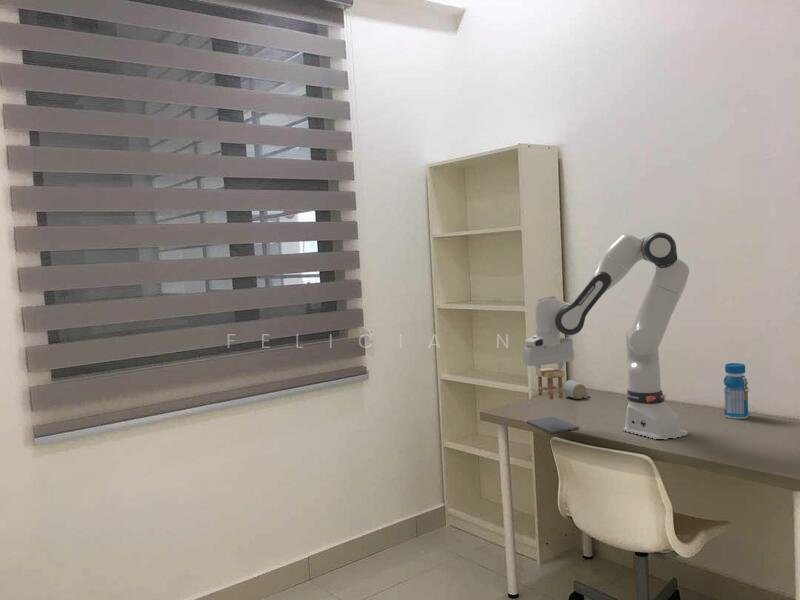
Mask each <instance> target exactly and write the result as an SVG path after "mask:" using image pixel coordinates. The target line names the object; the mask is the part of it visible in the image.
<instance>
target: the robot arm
mask: <svg viewBox="0 0 800 600" xmlns="http://www.w3.org/2000/svg"><path fill="white" fill-rule="evenodd" d="M677 251H678V250H677V244H676V241H675V239H674V238H673V237H672V235H670V234H669V233H665V232H661V231H659V232H653V233H651V234H649V235H648V236H645V237H644V238H643V237H642V238H638V237H637V236H635V235H633V234H629V233H628V234H626V233H624V234H622V235H621V236H619V237H618V238H617V239H616V240H614V242H612V243H611V245H609V247H607V248H606V250H605V251H604V252H603V254H602V255H601V256H600V258H599V259H598V261H597V262H596V265H595V266H594V268H593V270H592V272H591V273H592V274H591V276H590V277H589V281H588V283H587V284H586V286H585V287H584V289H583V290H582V291H581V292H580V294H579V295H577V297H576V298H575V300H574V301H572V303H569V302H565V301H563V300H561V299H559V298H558V297H557V296H548V297H543V298H541V299H539V300H537V302H536V304H535V323H536V330H535V331H536V332H535V334H534V335H533V336H529V338H526V339H525V340H524V345H525V347H524V349H523V364H524V365H525V366H527V367H535V370H536V369H537V371H538V375H537V377H538V376H539V377H542V378H543V376H544V372H542V371H541V369H542V366H544V365H545V366H546V365H553V364H557V365H558V366H557V368H555V369H556V370H560V371H562V369H563V367H564V363H569V362H573V361H574V360H575V352H574V347H573V346H574V345H573V340H572V338H570V337H561V334H563V335H567V336H574V335H576V334H578V333H580V332H581V331H582V329H583V328H584V324H585V322H586V316H588V314H589V312H590V311H591V309H592V308H593V307H594V306H595V304H597V302H598V301H599V300H600V299H601V297H602V296H603V295H605V294H606V292H607V291H609V290H610V289H612V288H613V287H614V286H615V285H617V284H618V283H619V282H621V281H622V280H623V279H624V277H626V276H627V274H628V273H629V272H630V271H631V270H632V268H633V267H634V266H635V265H636V263H638V262H639V261H641V260H644V261H647V262H650V263H652V264H654V265H655V273H654V276H653V277H652V280H651V282H650V284H649V286H648V288H647V290H646V292H645V294H644V296H643V298H642V300H641V303H640V306H639V308H638V311H637V313H636V315H635V318H634V320H633V321H632V323H631V324H630V325H628V327H627V328H626V332H625V345H626V361H627V384H628V388H627V392H626V396H627V400H628V404H627V407H626V409H625V410H626V411H625V412H626V413H625V425H624V427H623V430H624V431H623V432H625V431H626V432H625V433H629V432H630V433H629V434H633V433H634V435H636V434H638V435H637V436H640V435H642V436H641V437H644V436H646V437H645V438H648V437H649V438H648V439H652V438H653V439H652V440H656V439H664V440H669V439H668V438H673V439H678V438H677V437H679V438H683V437H686V436H687V435H688V431H687V430H685V429H683V428H681V425H680V419H679V416H678V415H677V412H674V411H673V410H672V408H671V407H670V406H669V405H668V404H667V402H666V399H667V394H664V393H663V390H662V389H661V367H660V356H659V347H660V345H661V342H662V341H663V338H664V336H665V333H666V330H667V328H668V326H669V324H670V320H671V317H672V315H673V313H674V311H675V309H676V307H677V304H678V302H679V300H680V298H681V296H682V295H683V292H684V289H685V288H686V285H687V284H686V283H687V281H688V277H689V274H690V267H689V266H688V264H686V263H685V262H684V261H683V260H681V259H679V258H678V252H677ZM682 436H683V437H682Z"/></svg>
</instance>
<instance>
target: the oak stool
mask: <svg viewBox="0 0 800 600" xmlns="http://www.w3.org/2000/svg"><path fill="white" fill-rule="evenodd" d="M540 369H541V371H542V372H544V376H542V377H539V376H538V371H537V369H536V368H535V375H537V383H538V386H537V388H538V396H543V391H546V392H547V394H548V395H549V400H554V390H555V391H558V398H559V399H562V398H564V395H563V394H564V391H563V378H564V377H565V372H564V371H562V370H561V371H560V370H556V369H557V368H552V367H544V368H542V367H541V368H540ZM543 378H546V380H547V381H546V382H547V387H545V386H543ZM556 378H557V379H558V384H557V385H558V386H555V385H554V379H556Z"/></svg>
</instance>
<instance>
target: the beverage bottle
mask: <svg viewBox="0 0 800 600" xmlns="http://www.w3.org/2000/svg"><path fill="white" fill-rule="evenodd" d="M724 365H725V366H724V372H725V373H726V375H725V377H724V379H723V384H724V385H723V386H722V387H723V389H722V390H723V402H724V405H723V406H724V407H723V409H724V417H726V418H727V419H728V418H729V419H735V420H743V419H744V420H745V419H747V418H748V417H749V415H750V413H749V387H748V385H749V384H748V383H749V382H748V379H747V377H746V376H745V374H746V365H745V364H744V363H740V362H731V363H730V362H729V363H726V364H724Z"/></svg>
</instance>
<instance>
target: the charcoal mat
mask: <svg viewBox="0 0 800 600" xmlns="http://www.w3.org/2000/svg"><path fill="white" fill-rule="evenodd" d="M526 423H527V424H529V425H530V426H533V427H535V428H537V429H540V430H542V431H544V432H546V433H549V434H551V435H552V434H557V433H558V434H559V433H564V432H569V431H568V430H571V431H573V430H572V429H577V430H579V429H580V426H578V425H576V424H572V423H570V422H567V421H565V420H563V419H560V418H558V417H556V416H548V417H541V418H536V419H535V418H534V419H529V420H526ZM578 428H579V429H578Z"/></svg>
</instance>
